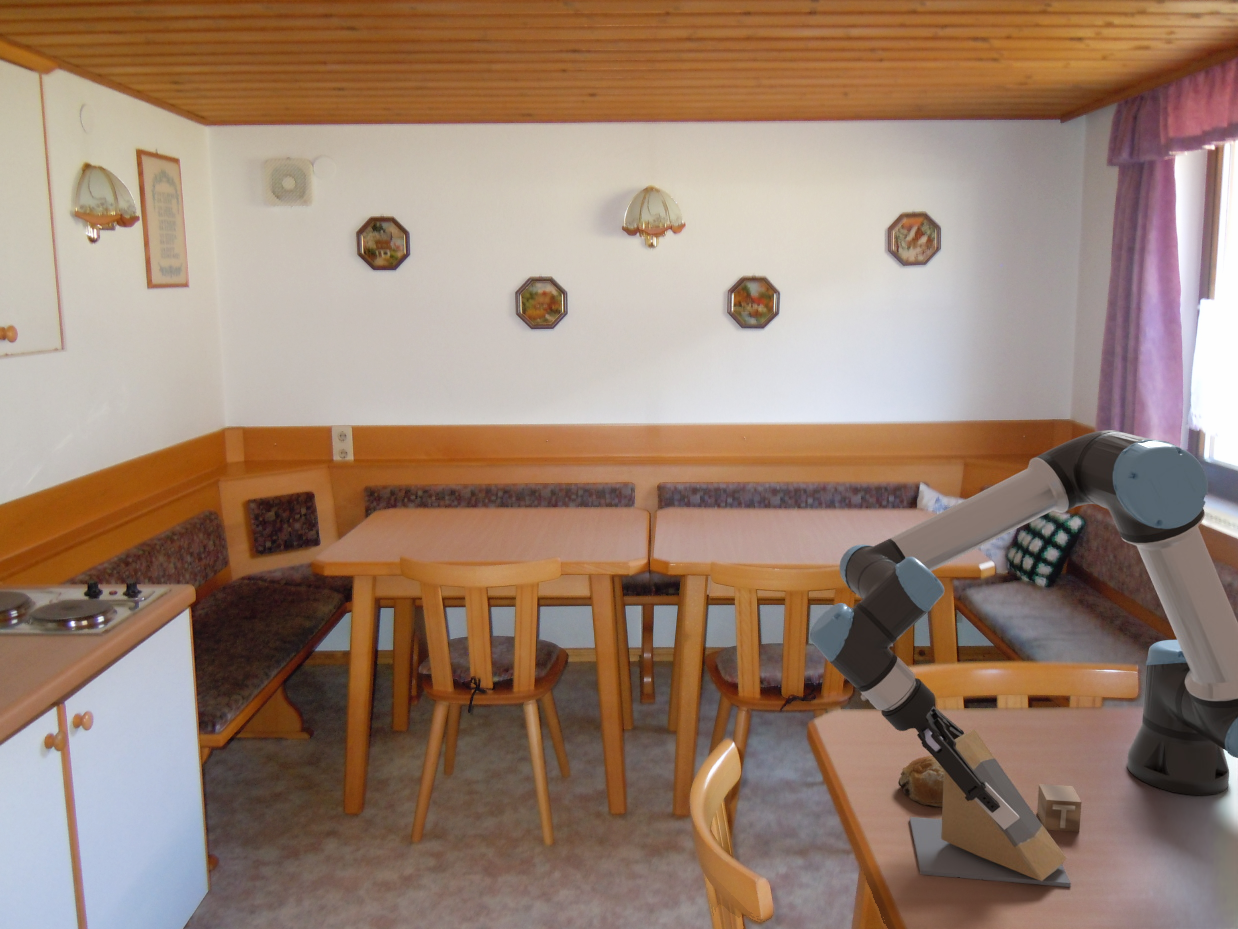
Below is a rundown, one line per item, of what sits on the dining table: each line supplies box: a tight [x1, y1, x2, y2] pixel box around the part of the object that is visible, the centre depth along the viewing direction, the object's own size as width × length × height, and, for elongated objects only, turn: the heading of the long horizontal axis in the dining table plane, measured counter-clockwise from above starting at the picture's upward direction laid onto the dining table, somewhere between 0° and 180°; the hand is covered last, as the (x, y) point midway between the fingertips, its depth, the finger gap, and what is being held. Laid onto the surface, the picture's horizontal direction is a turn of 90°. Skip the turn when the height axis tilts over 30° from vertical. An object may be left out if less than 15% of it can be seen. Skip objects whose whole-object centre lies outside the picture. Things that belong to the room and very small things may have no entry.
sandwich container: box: [941, 727, 1068, 881], centre depth 147 cm, size 9×15×15 cm, turn 44°
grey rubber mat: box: [909, 816, 1072, 888], centre depth 151 cm, size 20×15×1 cm
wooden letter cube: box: [1036, 783, 1082, 833], centre depth 159 cm, size 5×5×5 cm
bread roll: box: [898, 755, 944, 808], centre depth 168 cm, size 10×10×8 cm
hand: (1003, 801), depth 150 cm, fingers closed on sandwich container, 12 cm apart
